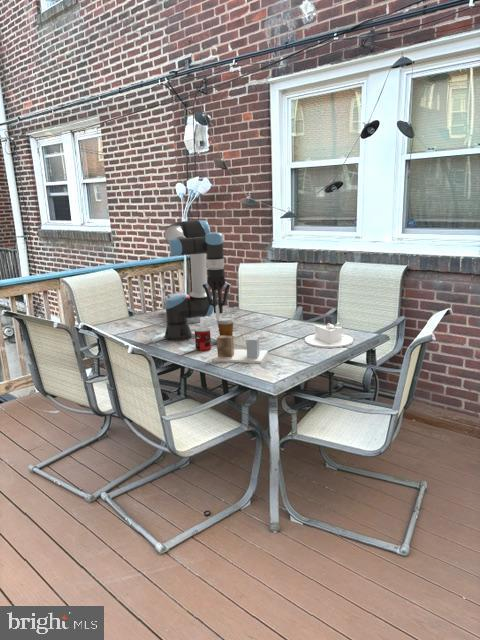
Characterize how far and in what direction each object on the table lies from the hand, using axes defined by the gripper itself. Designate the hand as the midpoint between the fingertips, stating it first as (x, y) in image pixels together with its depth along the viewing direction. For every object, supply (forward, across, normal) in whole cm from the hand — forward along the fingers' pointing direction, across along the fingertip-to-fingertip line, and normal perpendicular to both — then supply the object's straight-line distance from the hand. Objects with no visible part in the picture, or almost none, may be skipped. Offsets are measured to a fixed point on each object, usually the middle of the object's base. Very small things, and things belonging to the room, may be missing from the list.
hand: (218, 320), depth 210 cm
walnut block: (+20, 0, +8) cm, 22 cm away
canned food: (+21, -16, +21) cm, 34 cm away
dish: (+22, +46, +43) cm, 67 cm away
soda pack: (+21, -53, +88) cm, 104 cm away
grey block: (+20, +13, +10) cm, 26 cm away
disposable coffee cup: (+21, -9, +39) cm, 46 cm away
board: (+21, +6, +12) cm, 25 cm away
